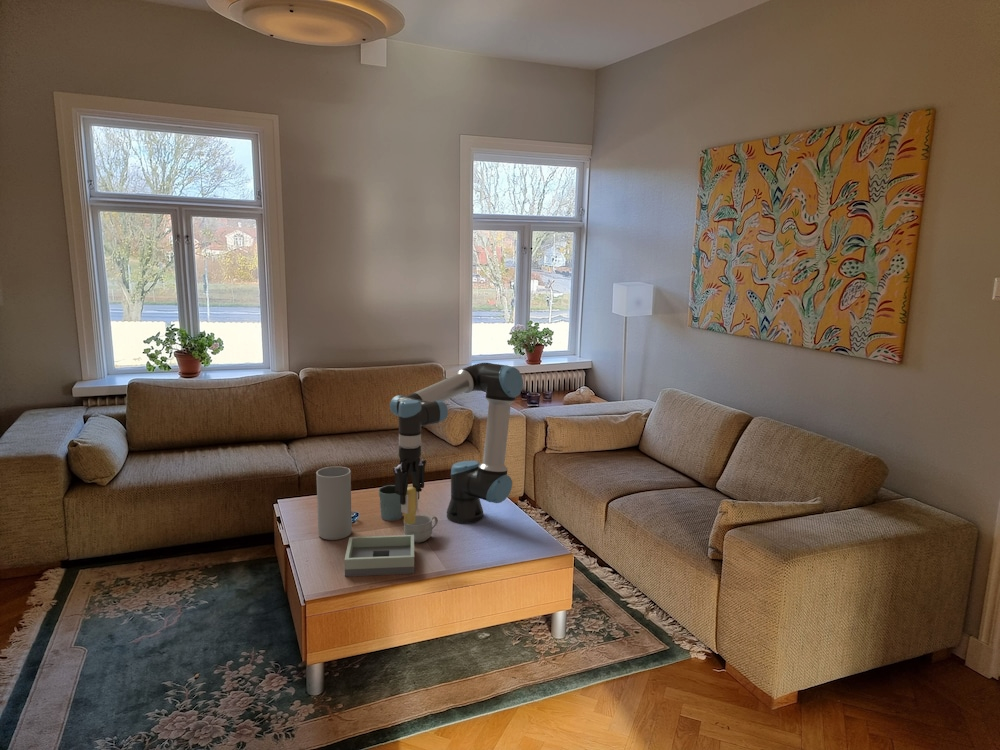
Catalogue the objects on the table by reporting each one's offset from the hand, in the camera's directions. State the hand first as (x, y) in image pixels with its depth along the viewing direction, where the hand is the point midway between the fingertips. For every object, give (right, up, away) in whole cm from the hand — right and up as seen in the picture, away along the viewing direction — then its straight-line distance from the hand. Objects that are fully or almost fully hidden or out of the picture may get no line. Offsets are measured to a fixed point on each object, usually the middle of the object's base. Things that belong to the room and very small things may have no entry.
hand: (409, 510), depth 230 cm
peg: (0, -4, +1) cm, 4 cm away
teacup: (+2, -15, +23) cm, 28 cm away
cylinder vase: (-32, -14, +25) cm, 43 cm away
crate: (-10, -19, +2) cm, 21 cm away
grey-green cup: (-13, -12, +43) cm, 46 cm away
